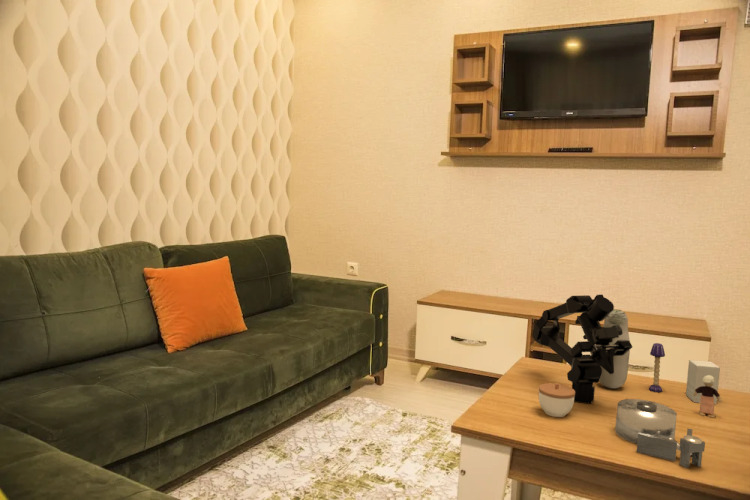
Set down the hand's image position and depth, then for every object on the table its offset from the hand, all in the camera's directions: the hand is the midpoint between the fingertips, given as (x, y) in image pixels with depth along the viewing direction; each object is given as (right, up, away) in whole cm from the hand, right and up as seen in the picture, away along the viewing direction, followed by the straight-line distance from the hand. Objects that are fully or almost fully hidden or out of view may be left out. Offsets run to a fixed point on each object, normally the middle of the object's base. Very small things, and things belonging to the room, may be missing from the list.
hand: (612, 373), depth 168 cm
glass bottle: (+12, -11, +28) cm, 33 cm away
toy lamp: (+26, -12, +27) cm, 40 cm away
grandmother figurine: (+32, -14, +5) cm, 35 cm away
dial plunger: (+6, -14, -26) cm, 30 cm away
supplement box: (+38, -13, +19) cm, 45 cm away
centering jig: (+6, -16, -25) cm, 31 cm away
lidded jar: (-17, -13, +2) cm, 21 cm away
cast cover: (+4, -15, -12) cm, 20 cm away
